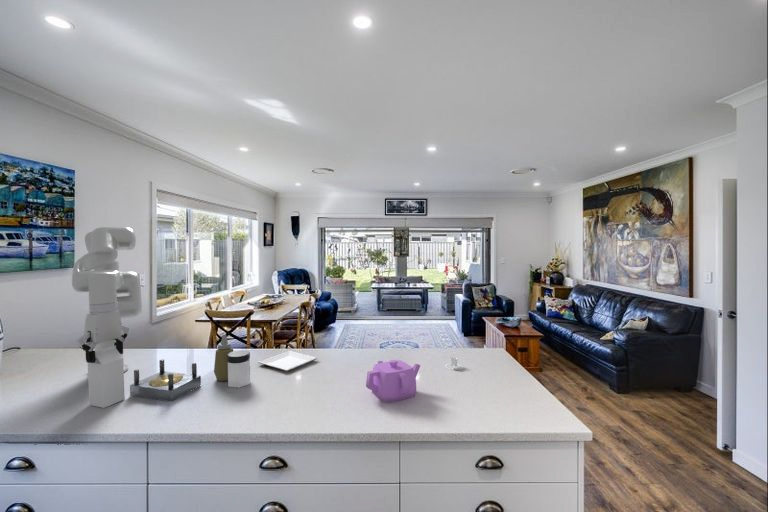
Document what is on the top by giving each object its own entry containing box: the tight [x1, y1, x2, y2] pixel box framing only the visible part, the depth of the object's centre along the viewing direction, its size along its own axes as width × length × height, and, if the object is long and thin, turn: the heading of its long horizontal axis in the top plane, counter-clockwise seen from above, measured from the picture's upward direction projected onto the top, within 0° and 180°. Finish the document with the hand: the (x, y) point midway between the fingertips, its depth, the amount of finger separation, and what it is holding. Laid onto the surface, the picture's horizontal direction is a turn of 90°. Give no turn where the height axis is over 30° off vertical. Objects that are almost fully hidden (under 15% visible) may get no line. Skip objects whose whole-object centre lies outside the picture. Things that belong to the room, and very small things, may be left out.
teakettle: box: [365, 359, 421, 404], centre depth 135 cm, size 17×17×12 cm
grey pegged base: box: [129, 359, 202, 403], centre depth 136 cm, size 18×14×9 cm
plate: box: [257, 350, 318, 372], centre depth 166 cm, size 19×19×2 cm
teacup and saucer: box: [444, 356, 464, 371], centre depth 162 cm, size 9×8×4 cm
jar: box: [227, 349, 251, 389], centre depth 143 cm, size 9×8×12 cm
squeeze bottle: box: [213, 334, 234, 382], centre depth 148 cm, size 8×8×18 cm
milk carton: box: [87, 346, 126, 409], centre depth 126 cm, size 7×7×19 cm
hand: (105, 357), depth 126 cm, fingers open, 9 cm apart
